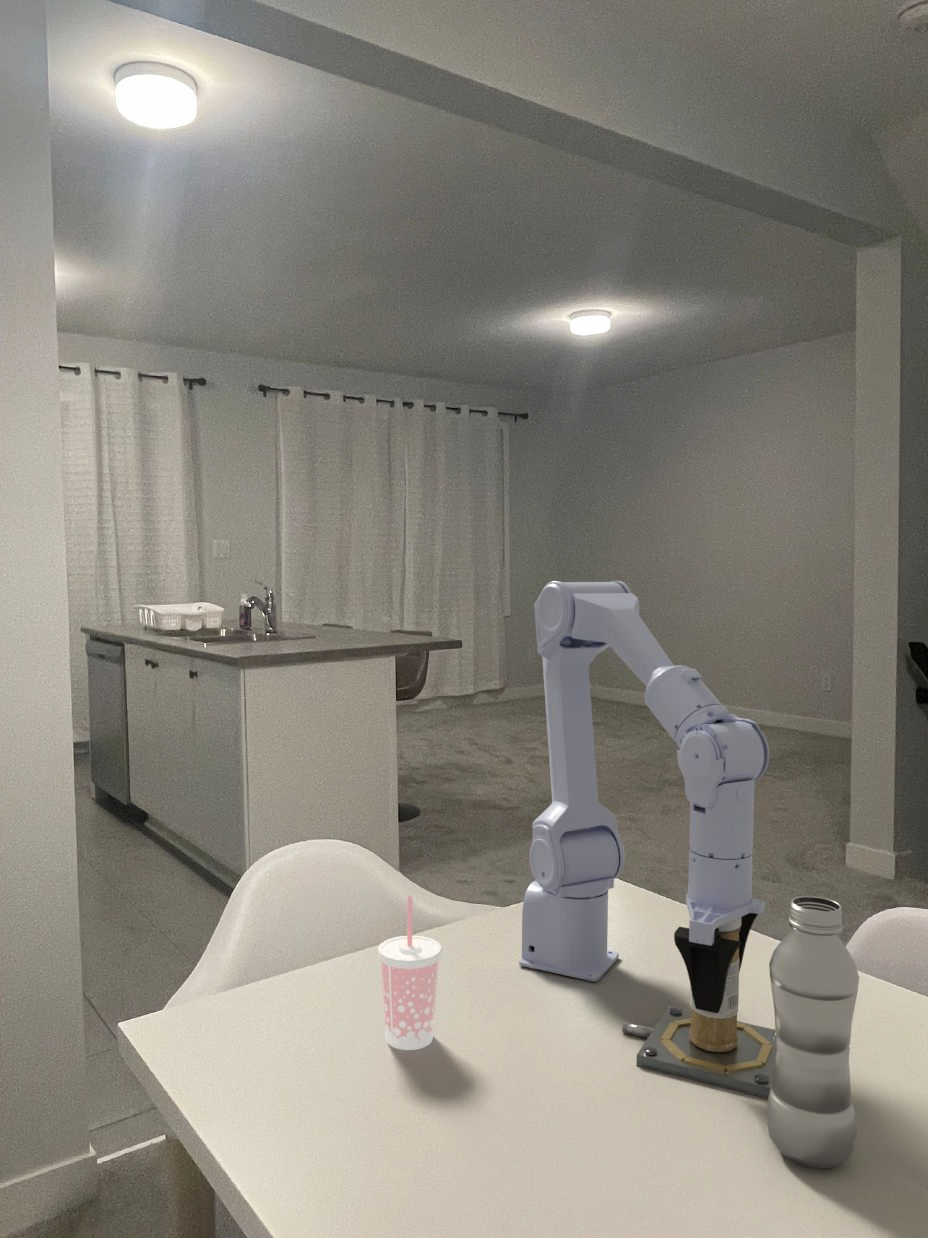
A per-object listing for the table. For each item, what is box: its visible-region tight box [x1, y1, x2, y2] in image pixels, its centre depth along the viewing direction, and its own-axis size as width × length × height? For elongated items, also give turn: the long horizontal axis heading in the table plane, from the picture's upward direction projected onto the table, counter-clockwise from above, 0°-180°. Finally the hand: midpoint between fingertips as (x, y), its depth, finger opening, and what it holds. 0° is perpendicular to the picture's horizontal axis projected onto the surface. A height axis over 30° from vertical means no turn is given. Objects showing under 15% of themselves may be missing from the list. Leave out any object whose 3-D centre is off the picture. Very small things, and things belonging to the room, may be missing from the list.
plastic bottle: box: [765, 895, 860, 1169], centre depth 75 cm, size 6×7×20 cm
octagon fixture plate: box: [621, 1005, 776, 1100], centre depth 91 cm, size 15×11×1 cm
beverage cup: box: [377, 895, 443, 1051], centre depth 93 cm, size 6×6×14 cm
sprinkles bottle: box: [689, 917, 741, 1052], centre depth 90 cm, size 5×5×14 cm
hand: (717, 993), depth 90 cm, fingers open, 7 cm apart
